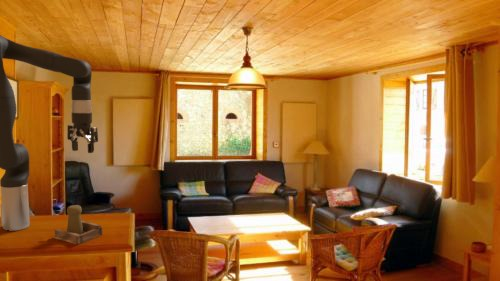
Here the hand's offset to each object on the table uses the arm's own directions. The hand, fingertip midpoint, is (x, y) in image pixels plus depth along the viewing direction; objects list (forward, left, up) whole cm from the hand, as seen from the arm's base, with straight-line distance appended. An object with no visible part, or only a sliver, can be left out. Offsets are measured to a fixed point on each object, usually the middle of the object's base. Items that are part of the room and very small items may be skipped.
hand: (82, 151), depth 163 cm
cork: (+7, -11, -30) cm, 32 cm away
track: (+9, -11, -30) cm, 33 cm away
